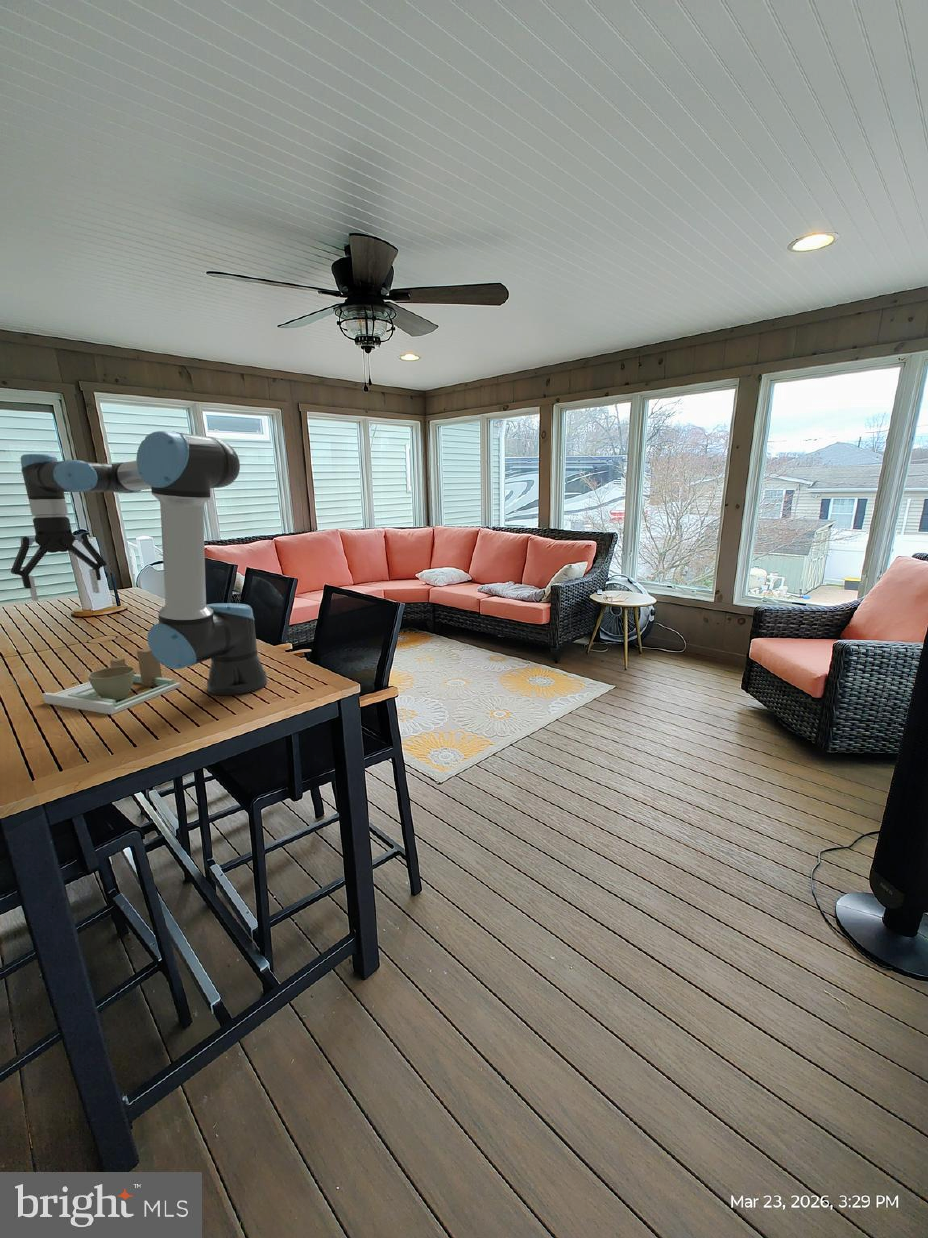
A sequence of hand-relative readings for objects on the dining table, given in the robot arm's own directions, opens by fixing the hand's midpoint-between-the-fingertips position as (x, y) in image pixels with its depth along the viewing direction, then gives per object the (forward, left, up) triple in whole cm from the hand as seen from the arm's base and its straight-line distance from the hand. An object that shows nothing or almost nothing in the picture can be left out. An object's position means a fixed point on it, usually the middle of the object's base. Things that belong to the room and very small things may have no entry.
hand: (66, 596), depth 137 cm
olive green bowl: (-19, +5, -25) cm, 32 cm away
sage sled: (-19, +3, -25) cm, 32 cm away
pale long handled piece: (-7, +3, -25) cm, 26 cm away
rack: (-15, +3, -25) cm, 30 cm away
